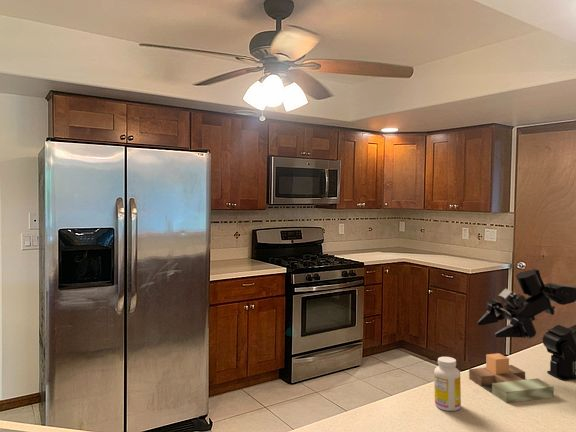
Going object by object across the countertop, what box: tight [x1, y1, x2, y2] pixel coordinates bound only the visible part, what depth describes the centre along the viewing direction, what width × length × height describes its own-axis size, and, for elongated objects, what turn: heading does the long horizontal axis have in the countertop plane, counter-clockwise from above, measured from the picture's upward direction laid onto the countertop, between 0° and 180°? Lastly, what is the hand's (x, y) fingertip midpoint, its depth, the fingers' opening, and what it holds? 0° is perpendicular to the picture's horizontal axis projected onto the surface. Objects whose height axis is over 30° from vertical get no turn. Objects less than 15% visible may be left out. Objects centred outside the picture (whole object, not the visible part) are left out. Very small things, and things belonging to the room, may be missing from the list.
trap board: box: [468, 364, 555, 404], centre depth 130 cm, size 15×17×3 cm
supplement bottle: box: [433, 356, 462, 412], centre depth 119 cm, size 7×7×13 cm
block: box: [485, 352, 510, 374], centre depth 135 cm, size 4×4×4 cm
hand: (486, 329), depth 135 cm, fingers open, 9 cm apart
